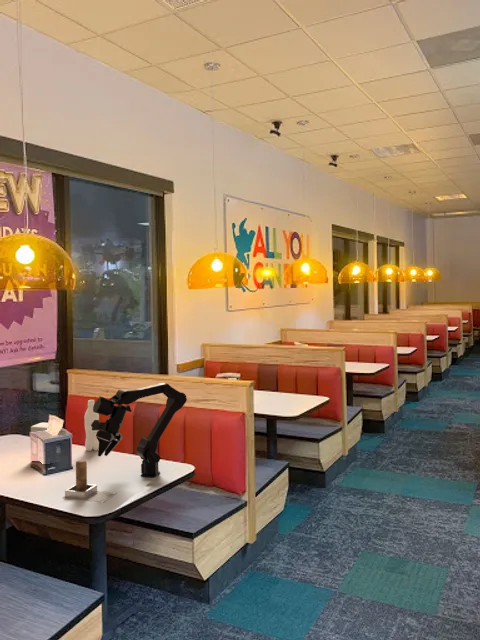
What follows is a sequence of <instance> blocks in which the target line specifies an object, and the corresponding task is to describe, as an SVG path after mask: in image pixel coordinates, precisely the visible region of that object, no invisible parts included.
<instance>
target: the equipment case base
mask: <svg viewBox="0 0 480 640" xmlns="http://www.w3.org/2000/svg"><path fill="white" fill-rule="evenodd" d="M116 495H118V492H110V491H102V490H97V492H95V493H94V494H92V495H91V496H89V497H88V498H86V499H79V498H70V497H65V495H64V496H63V497H61V498H62V499H67V500H76V501H87V502H94V503H95V502H97V503H105V502H107V501H108V500H110V499H111V498H113V497H114V496H116Z"/></svg>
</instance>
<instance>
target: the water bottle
mask: <svg viewBox="0 0 480 640" xmlns="http://www.w3.org/2000/svg"><path fill="white" fill-rule="evenodd" d="M94 403H95V399H89V400H88V401H87V409H86V411H85V413H84V417H83V419H84V430H85V443H84V446H85V449H86V450H87V451H88V452H91V451H92V450H93V451H95V452H96V451H98V449H99V441H98V439H97V438H96V437H97V436H96V434H97V431H99V430H92V426H91V424H92V423H93V422H94V420H99V421H100V414H98V413H95V412H93V406H94Z"/></svg>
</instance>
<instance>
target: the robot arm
mask: <svg viewBox="0 0 480 640" xmlns="http://www.w3.org/2000/svg"><path fill="white" fill-rule="evenodd" d="M160 394H163V395H164V396H166V397H167V398H166V401H165V402H166V403H165V408H164V410H163V411H162V412H161V414H160V416H159V418H158V420H157V421H156V423H155V424H154V426H153V428H152V430H151V431H150V433H149V434H148V435H147V437H141V438H140V440H139V442H138V443H137V444H136V446H137V447H136V449H135V450H136V453H137V455H138V456H139V457H140V460H142V461H141V465H140V471H141V474H140V477H146V478H147V477H148V478H155V477H157V476H158V475H159V474H161V471H160V470H159V463H160V460H161V456H160V455H159V454H158V453H157V451H158V444H159V441H160V439H161V437H162V436H163V434H164V433H165V431H166V430H167V427H168V425H169V424H170V422H171V421H172V419H173V417H174V415H175V414H176V413H177V412H178V411H180V410H181V409H182V408H183V407H184V406H185V404H186V403H187V400H188V398H187V395H186V393H184V392H182V391H179V390H177V389H176V388H174V387H173V386H171V385H170V384H168V383H166V382H160V383H156V384H151V385H147V386H143V387H138V388H120V389H118V390H117V392H116V393H115V394H114V395H112V396H111V397H110V398H105V397H103V396H99V397H98V399H97V400H96V401H94V406H93V412H95V413H98V414H99V415H102V416H105V417H108V418H107V419H106V420H105V421H103V422H102V421H101V422H100V419H99V420H94V422H93V423H92V424H91V426H92V430H98V431H97V434H96V436H97V437H96V438H97V439H98V441H99V448H98V450H97V457H100V458H101V457H102V455H103V454H104V456H105V457H107V456H108V455H109V454H110V453H111V452H112V451H113V450H114V448H116V446H118V444H120V442H121V441H122V440H123V438H124V436H123V434H122V433H120V430H121V427H122V426H123V425H124V423H123V421H124V419H125V417H126V413H127V412H130V413H131V412H133V411H132V409H131V406H130V404H133V403H135V402H137V401H138V400H140V399H143V398H147V397H151V396H152V397H153V396H155V395H160Z"/></svg>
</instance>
